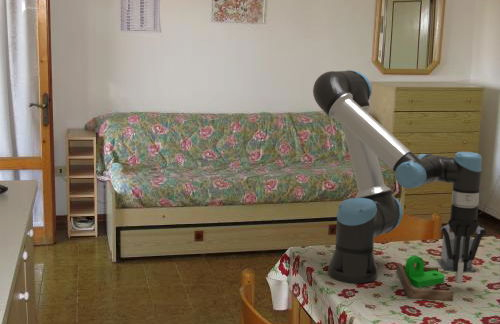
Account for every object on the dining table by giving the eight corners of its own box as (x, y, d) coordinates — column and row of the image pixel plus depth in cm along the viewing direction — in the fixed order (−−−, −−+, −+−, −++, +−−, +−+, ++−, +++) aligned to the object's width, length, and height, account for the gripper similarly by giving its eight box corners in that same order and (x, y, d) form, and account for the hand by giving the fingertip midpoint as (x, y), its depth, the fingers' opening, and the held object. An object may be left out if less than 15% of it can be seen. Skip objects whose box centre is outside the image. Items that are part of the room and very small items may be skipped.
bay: (408, 298, 191) (408, 288, 190) (396, 272, 212) (397, 263, 211) (452, 300, 190) (453, 290, 189) (437, 274, 211) (437, 265, 210)
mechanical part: (417, 288, 199) (419, 262, 198) (404, 281, 205) (406, 256, 203) (447, 282, 205) (450, 258, 203) (434, 276, 210) (436, 252, 208)
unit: (443, 270, 215) (446, 237, 213) (437, 260, 225) (440, 228, 223) (475, 272, 214) (478, 239, 212) (467, 261, 224) (470, 230, 222)
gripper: (444, 207, 192) (438, 285, 196) (491, 209, 191) (484, 287, 195) (439, 201, 199) (433, 276, 204) (484, 203, 198) (477, 278, 203)
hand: (458, 281), depth 199 cm, fingers closed
